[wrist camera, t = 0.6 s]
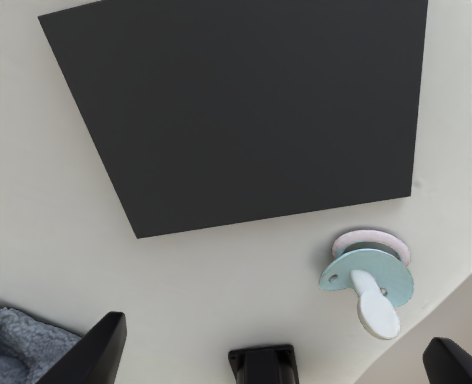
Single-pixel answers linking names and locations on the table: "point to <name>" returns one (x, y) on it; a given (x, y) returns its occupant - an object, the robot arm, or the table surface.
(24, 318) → the koala plush
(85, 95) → the mat
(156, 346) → the table surface
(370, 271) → the pacifier
